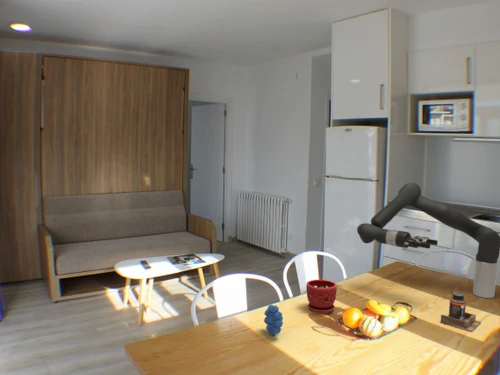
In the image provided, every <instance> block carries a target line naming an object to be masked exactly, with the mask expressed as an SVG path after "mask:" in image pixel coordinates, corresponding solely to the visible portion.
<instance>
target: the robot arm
mask: <svg viewBox="0 0 500 375" xmlns="http://www.w3.org/2000/svg"><path fill="white" fill-rule="evenodd" d="M407 205H409V206H411V207H413V208H414V209H417V210H419V211H420V212H423V213H424V214H426V215H428V216H430V217H432V218H433V219H435V220H436V221H438V222H440V223H442V224H443V225H446V226H447V227H450V228H452V229H454V230H457V231H460V232H462V233H464V234H465V235H468V236H469V237H470V238H472V239H474V241H476V242H477V243H478V248H477V252H476V254H475V263H474V264H475V265H474V275H473V276H474V277H473V290H472V293H473V295H475V296H477V297H479V298H485V299H493V298H495V293H496V283H497V282H496V280H497V270H498V269H497V268H498V259H499V257H500V233H498V232H497V231H495V229H492V228H490V227H487V226H486V225H482V224H481V223H478V222H476V221H475V220H473V219H471V218H469V217H468V216H467V215H465V214H464V213H463V212H461V211H459V210H458V209H456V207H453V206H451V205H449V204H447V203H445V202H440V201H438V200H433V199H431V198H427V197H425V196H423V195H422V190H421V186H420V185H419V184H418V183H415V182H408V183H406V184H404V185H403V186H402V187H401V188H400V189H399V190H398V194H397V195H396V196H395V197H394V198H393V200H391V201H390V202H389V203H388V204H386V205H385V206H384V207H383V208H382V209H380V210H379V211H378V212H377V213H375V215H374V216H372V217H371V219H370V223H361V224H359V225H358V227H357V228H356V232H357V234H358V235H359V238H360V239H361V241H362V243H364V244H371V243H372V242H374V241H376V242H377V243H379V244H384V245H390V246H392V247H398V248H403V249H408V248H409V247H410V248H413V249H419V248H424V249H430V248H431V246H437V245H438V243H439V242H438V240H437V239H432V238H430V237H427V236H421V235H415V236H412V235H411V233H410V232H409V231H402V230H396V229H386V228H385V226H387V225H388V224H389V223H390V222H391V221H392V219H394V218H395V217H396V216H397V215H398V213H399V212H401V211H402V210H403V209H404V208H405V207H406V206H407Z"/></svg>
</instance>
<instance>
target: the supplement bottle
mask: <svg viewBox="0 0 500 375" xmlns="http://www.w3.org/2000/svg"><path fill="white" fill-rule="evenodd" d="M464 296H465V295H464V294H463V293H461V292H453V293H452V297H450V298H449V306H448V307H449V309H448V310H449V311H448V315H449V317H452V318H456V319H459V320H463V321H464V320H465V312H466V306H467V304H466V302H467V301H466V300H465V299H464V298H465V297H464Z"/></svg>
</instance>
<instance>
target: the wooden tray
mask: <svg viewBox="0 0 500 375" xmlns="http://www.w3.org/2000/svg"><path fill="white" fill-rule="evenodd" d="M476 317H477V315H476V314H473V313H470V312H467V311H465V320H464V321H463V320H459V319H456V318H452V317H449V314H447V315H445V314H441V315H440V322H439V323H440V324H444V325H447V326H448V327H449V326H450V327H454V328H455V329H459V330H463V331H466V332H469V333H473V332H474V331H475V330H476V329H477V328H478V327H479V326H480V325H481V323H482V322H481V321H479V320H476Z"/></svg>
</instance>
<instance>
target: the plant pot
mask: <svg viewBox="0 0 500 375" xmlns="http://www.w3.org/2000/svg"><path fill="white" fill-rule="evenodd" d="M305 288H306V297H307V301H308V304H307V307H308V310H310V311H311V312H314V313H317V314H330V313H332V312H333V311H334V310H335V307H336V306H335V305H334V304H335V301H336V298H337V290H338V286H337V283H336V282H334V281H332V280H326V279H312V280H308V281H307V282H306V285H305Z"/></svg>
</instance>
